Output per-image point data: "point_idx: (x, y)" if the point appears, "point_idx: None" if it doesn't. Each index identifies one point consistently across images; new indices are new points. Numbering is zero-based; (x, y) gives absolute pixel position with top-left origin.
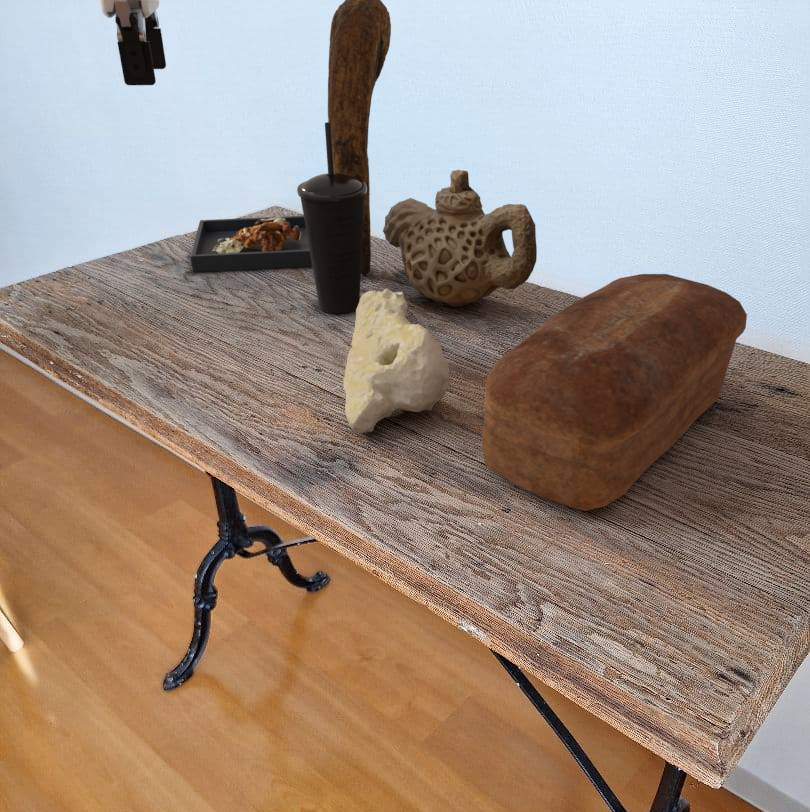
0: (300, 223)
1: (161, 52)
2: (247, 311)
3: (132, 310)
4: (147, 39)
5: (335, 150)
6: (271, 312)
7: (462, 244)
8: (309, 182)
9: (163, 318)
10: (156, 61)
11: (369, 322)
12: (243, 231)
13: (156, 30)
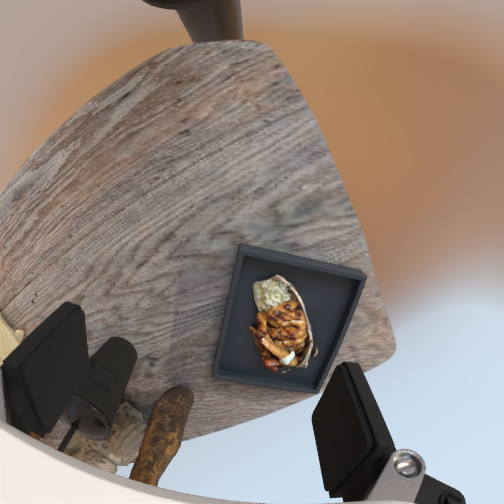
0: (320, 373)
1: (317, 445)
2: (121, 279)
3: (152, 166)
4: (340, 452)
5: (139, 459)
6: (116, 298)
7: (79, 437)
8: (69, 407)
9: (124, 198)
10: (320, 415)
11: (2, 343)
12: (298, 320)
13: (327, 490)
